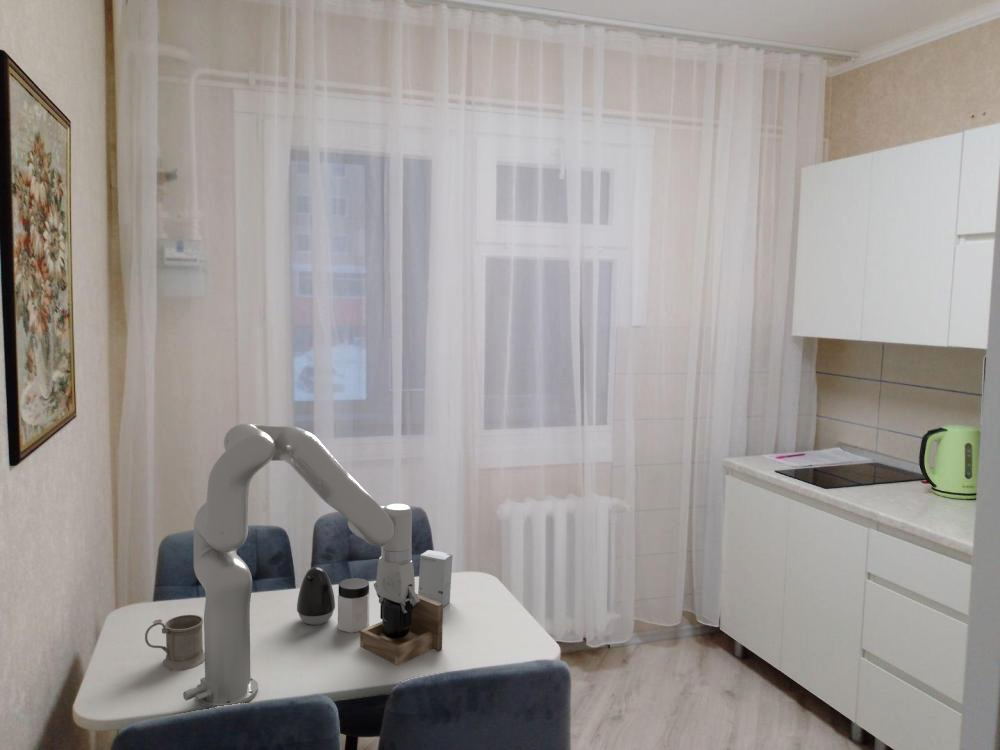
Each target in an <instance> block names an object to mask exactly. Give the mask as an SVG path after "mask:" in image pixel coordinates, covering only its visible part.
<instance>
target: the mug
mask: <svg viewBox="0 0 1000 750" xmlns="http://www.w3.org/2000/svg"><path fill="white" fill-rule="evenodd" d="M159 625H161V626H162V628H161V633H162V634H163V635H165V640H166V643H165V645H166V646H163V645H153V644H151V643H150V642H149V639H148V636H149V635H148V634H149V632H150V630H151V629H152V628H154V627H156V626H159ZM203 625H204V617H203V616H200V615H197V614H184V615H183V614H182V615H179V616H175V617H172V618H169V619H168V620H167V621H165V623H164V622H163V619H156V620H153V621H152V624H151V625H149V627H148V628H147V629H146V631H145V633H144V642H145V643H146V645H147V646H148V647H150V648H153V649H162V650H163V651H164V652H165V653H166V655H165V658H164V659H163V660H162V666H163V667H164V668H165V669H167V670H170V671H185V670H189V669H193V668H195V667H196V668H197V667H198V666H200V665H201V664H203V663H205V651H204V649H203V647H204V646H203V645H204V641H203Z"/></svg>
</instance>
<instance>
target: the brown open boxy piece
mask: <svg viewBox="0 0 1000 750" xmlns="http://www.w3.org/2000/svg"><path fill="white" fill-rule="evenodd" d="M416 594H417V596H418V598H419V599H420V602H419V603H418V604H417V605H416V607H415V608H414V610H412V623H411V625H410V626H409V633H408V635H406V636H405V637H403V638H399V639H391V638H387V637H385V636H384V635H383V633H382V621H380V622H377V623H375V624H372V625H370V626H368V628H365V629H363V630H360V631H359V647H360V648H361V649H363V650H365V651H368V652H369V653H371V654H373V655H375V656H378V657H379V658H381V659H384V660H385V661H387V662H389V663H391V664H394V665H395V666H398V667H399V666H401V665H403V664H405V663H408V662H410V661H412V660H414V659H416V658H417V657H419V656H422V655H424V654H425V653H428V652H430V651H432V650H433V651H436V652H440V651H442V650H443V624H444V623H443V617H444V616H443V613H444V612H443V611H444V607H443V604H441V603H439V602H436V601H434V600H431V599H429V598H426V597H423V596H421V595H418V593H416ZM411 601H412V600H411Z"/></svg>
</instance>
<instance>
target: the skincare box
mask: <svg viewBox="0 0 1000 750" xmlns="http://www.w3.org/2000/svg"><path fill="white" fill-rule="evenodd" d="M453 556H454V555H453V554H452V553H447V552H443V551H439V550H438V551H437V550H432V549H431V550H430V549H428V550H426V551H425V552H423V553H421V554H420V559H419V573H418V574H419V575H418V591H417V594H418V595H421V596H423V597H426V598H429V599H431V600H434V601H436V602H439V603H441V604H443V608H445V606H447V605H448V604H449V603H450V601H451V589H452V587H451V586H452V585H451V584H452V571H453V569H452V568H453Z"/></svg>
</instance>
